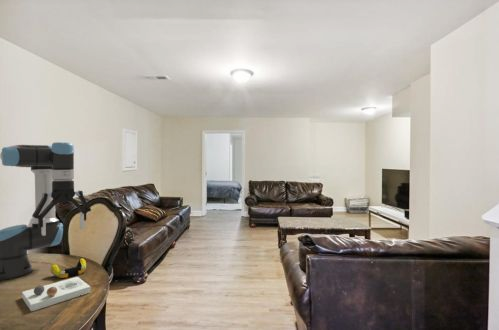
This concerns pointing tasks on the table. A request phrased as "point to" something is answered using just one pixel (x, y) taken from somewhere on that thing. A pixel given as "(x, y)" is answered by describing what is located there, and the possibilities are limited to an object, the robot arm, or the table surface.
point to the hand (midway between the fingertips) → (63, 231)
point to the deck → (64, 292)
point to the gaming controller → (69, 270)
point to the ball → (39, 290)
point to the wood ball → (51, 291)
